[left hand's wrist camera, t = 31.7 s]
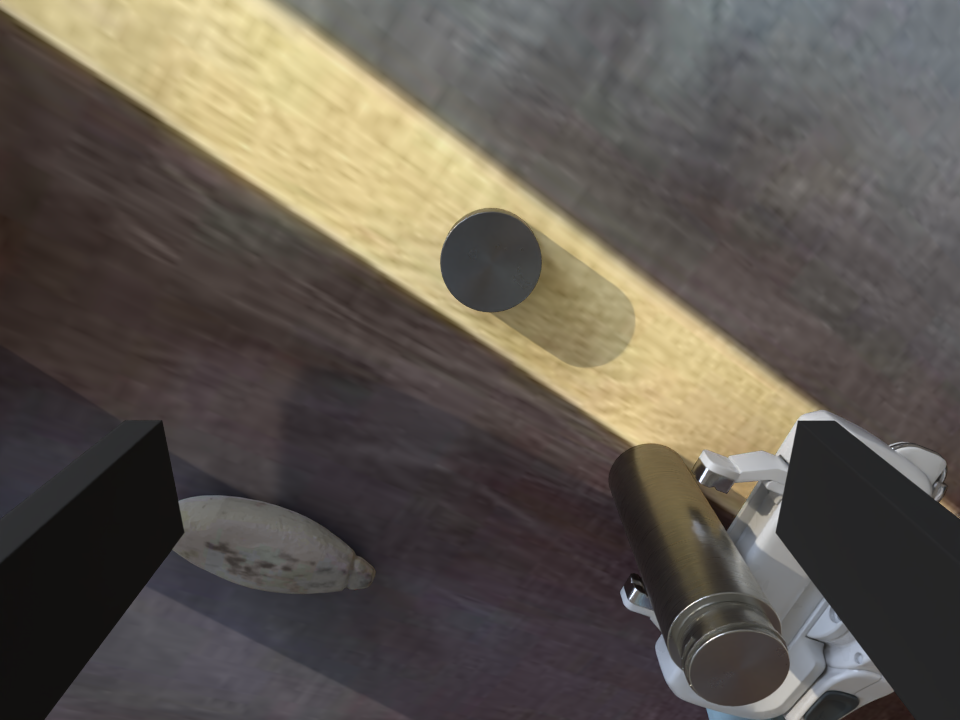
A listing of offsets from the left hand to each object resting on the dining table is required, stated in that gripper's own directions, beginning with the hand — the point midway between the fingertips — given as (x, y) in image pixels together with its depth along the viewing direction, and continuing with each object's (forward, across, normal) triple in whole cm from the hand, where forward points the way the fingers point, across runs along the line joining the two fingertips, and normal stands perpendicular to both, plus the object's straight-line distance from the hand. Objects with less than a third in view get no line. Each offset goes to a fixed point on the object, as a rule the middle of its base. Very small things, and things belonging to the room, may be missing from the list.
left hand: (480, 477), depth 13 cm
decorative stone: (+26, -15, -20) cm, 36 cm away
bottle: (+26, +12, -16) cm, 32 cm away
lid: (+24, +1, 0) cm, 24 cm away
